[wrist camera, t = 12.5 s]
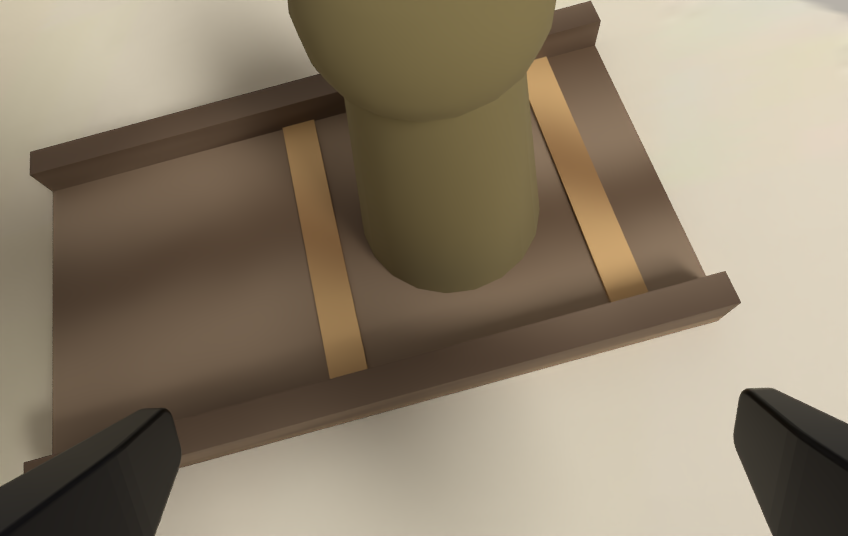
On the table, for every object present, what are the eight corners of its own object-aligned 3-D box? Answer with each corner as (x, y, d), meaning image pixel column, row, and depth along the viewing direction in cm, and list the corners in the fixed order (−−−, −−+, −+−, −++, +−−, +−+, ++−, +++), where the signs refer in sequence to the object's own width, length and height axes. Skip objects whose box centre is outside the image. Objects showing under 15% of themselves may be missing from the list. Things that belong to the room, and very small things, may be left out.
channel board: (717, 320, 18) (740, 302, 16) (65, 499, 18) (22, 498, 16) (582, 37, 23) (590, 0, 21) (63, 177, 23) (30, 151, 21)
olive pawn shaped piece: (472, 106, 21) (460, -254, 11) (577, 228, 19) (681, -85, 9) (330, 192, 20) (179, -112, 10) (423, 328, 18) (346, 112, 8)
